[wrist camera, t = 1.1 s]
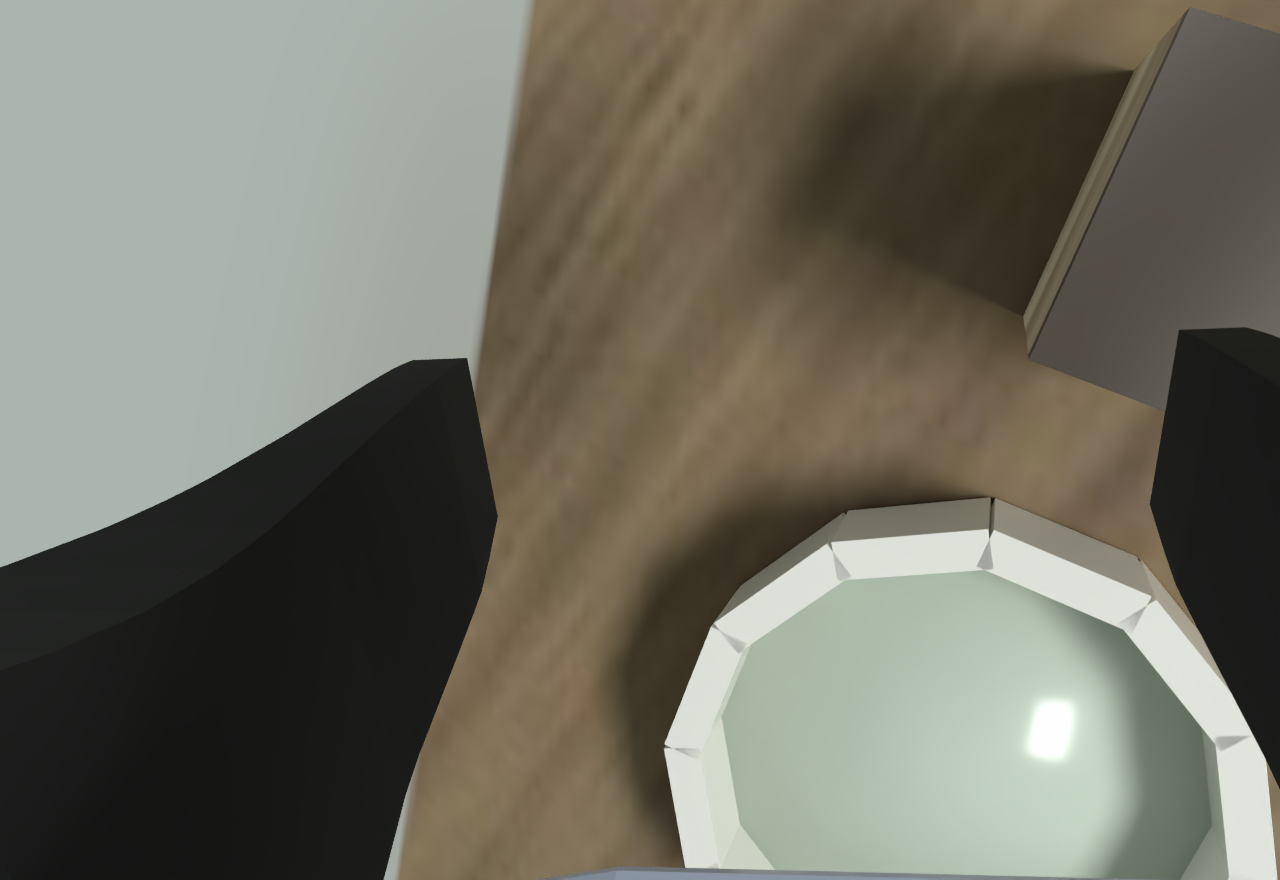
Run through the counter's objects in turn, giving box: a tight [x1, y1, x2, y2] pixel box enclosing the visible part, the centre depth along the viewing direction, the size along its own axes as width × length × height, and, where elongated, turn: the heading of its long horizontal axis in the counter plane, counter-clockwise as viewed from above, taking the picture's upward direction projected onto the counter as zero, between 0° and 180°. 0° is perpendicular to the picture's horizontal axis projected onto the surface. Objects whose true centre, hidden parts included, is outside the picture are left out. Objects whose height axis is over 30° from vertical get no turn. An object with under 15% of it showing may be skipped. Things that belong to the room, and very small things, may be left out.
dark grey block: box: [1023, 7, 1280, 411], centre depth 18 cm, size 3×5×7 cm, turn 161°
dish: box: [664, 497, 1277, 880], centre depth 23 cm, size 12×12×2 cm
